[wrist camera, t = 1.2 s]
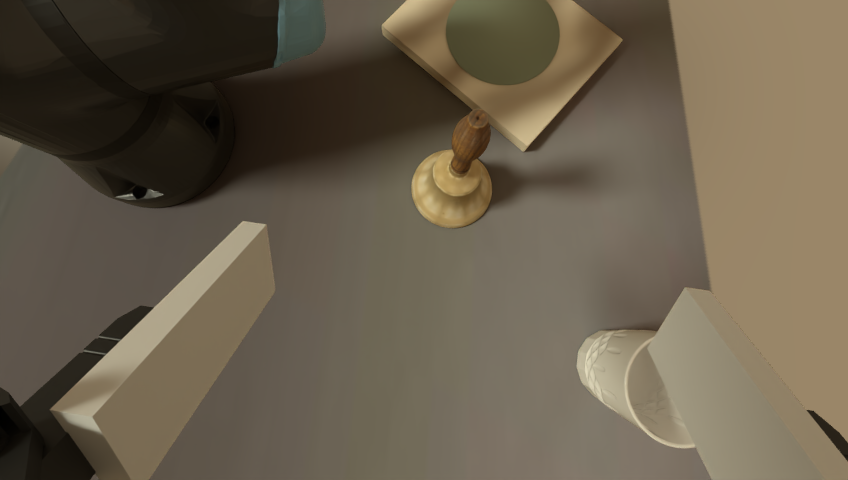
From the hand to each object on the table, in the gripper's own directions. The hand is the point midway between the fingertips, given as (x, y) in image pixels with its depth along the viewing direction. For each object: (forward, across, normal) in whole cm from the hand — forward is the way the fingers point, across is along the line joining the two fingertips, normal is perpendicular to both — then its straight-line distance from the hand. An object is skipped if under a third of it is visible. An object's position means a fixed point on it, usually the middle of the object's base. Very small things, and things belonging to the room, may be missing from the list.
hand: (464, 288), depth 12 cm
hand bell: (+27, 0, -9) cm, 28 cm away
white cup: (+17, +17, -20) cm, 32 cm away
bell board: (+38, +2, +4) cm, 38 cm away
